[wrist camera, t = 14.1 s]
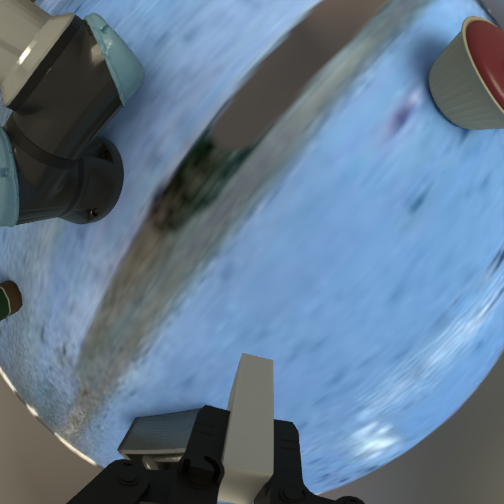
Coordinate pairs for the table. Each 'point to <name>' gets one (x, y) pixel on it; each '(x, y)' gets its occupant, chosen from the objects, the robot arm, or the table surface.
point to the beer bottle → (9, 299)
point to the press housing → (158, 435)
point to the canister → (471, 76)
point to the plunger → (160, 460)
